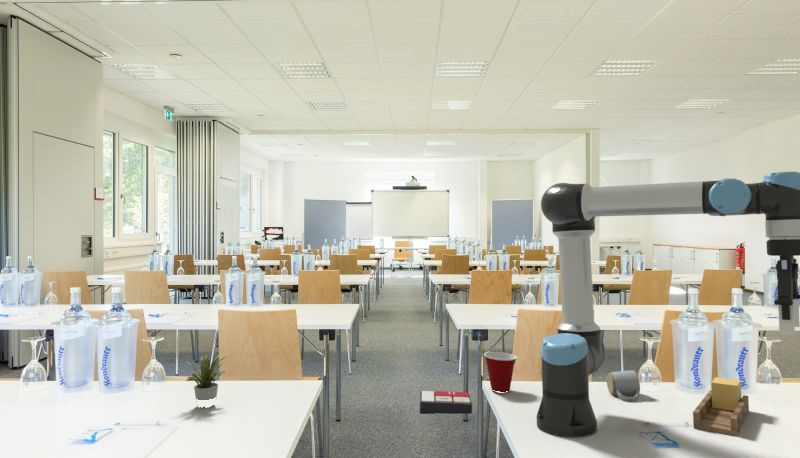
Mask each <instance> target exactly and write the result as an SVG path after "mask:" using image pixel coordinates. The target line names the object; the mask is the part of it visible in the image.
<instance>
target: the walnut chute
mask: <svg viewBox="0 0 800 458" xmlns="http://www.w3.org/2000/svg"><path fill="white" fill-rule="evenodd" d="M749 403H750V401H749V395H742V396H741V400H740V402H739V404H738V405H737V407H736V409H735V411H730V410H724V409H717V408H712V394H711V390H709V391H708V392H707V393H706V395H705V396H704V397H703V398H702V400H701V401H700V402H699V404H698V405H697V406H696V407H695V409H694V410H693V411H692V417H693V418H692V419H693V420H692V421H693V422H692V423H693V429H695V430H701V431H706V432H712V433H716V434H723V435H726V436H727V435H728V436H734V437H738V435H739V433H740V431H741V428H742V426H743V425H744V423H745V420H746V418H747V416H748V414H749V412H750V405H749Z"/></svg>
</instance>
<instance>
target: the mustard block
mask: <svg viewBox="0 0 800 458" xmlns="http://www.w3.org/2000/svg"><path fill="white" fill-rule="evenodd" d="M741 381H742V380H741V379H740V380H739V379H734V378H733V379H732V378H724V377H717V376H716V377H714V378H713V379H712V381H711V382H710V387H711V388H710V389H711V390H710V391H711V394H712V408H717V409H724V410H730V411H735V409H736V407H737V405H738V404H739V402H740V400H741V398H742V383H741Z"/></svg>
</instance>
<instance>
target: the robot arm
mask: <svg viewBox="0 0 800 458" xmlns="http://www.w3.org/2000/svg"><path fill="white" fill-rule="evenodd" d="M540 200H541V201H540V209H541V211H542V215H544V217H545V219H546V220H548V221H549V222H550V223H552V224H551V227H552V234H553V235H554V236H555V237H557V239H558V254H559V255H558V256H559V275H560V293H561V294H560V296H561V297H560V298H561V299H560V300H561V314H562V315H561V318H562V320H561V323H559V325H558V326H556V327H557V329H556V330H557V333H556V334H551V335H548V336H545V337H544V338H543V339H542V341H541V348H540V356H541V380H542V381H541V382H542V383H541V385H542V386H541V387H542V397H541V400H540V404H539V406H538V407H539V408H538V410H537V414H536V426H537V428H538V429H539V430H541V431H542V432H545V433H547V434H550V435H554V436H559V437H567V438H568V437H571V438H580V437H588V436H591V435H594V434H595V433H596V432H597V431H598V420H597V417H596V414H595V412H594V408H593V407H592V403H591V400H590V395H589V394H590V387H589V385H590V384H589V383H590V382H589V376H590V375H592V374H593V373H596V372H597V371H598V370H600V368H601V367H602V365H603V363H604V361H605V358H606V355H607V354H606V353H607V352H606V351H607V349H606V346H605V343H604V342H603V339H602V338H601V337H602V335H601V327H600V326H599V325H598V324H597V323H596V322H595V314H594V313H595V310H594V294H593V292H594V291H593V274H592V273H593V272H592V255H591V239H590V238H591V236H592V235H593V234H594V233H595V232H596V222H595V219H596V217H620V216H621V217H623V216H624V217H625V216H627V217H628V216H629V217H630V216H631V217H632V216H666V215H667V216H668V215H670V216H671V215H672V216H673V215H709V216H711V217H718V216H719V217H726V216H743V215H744V216H745V215H746V216H747V215H765V221H764V222H765V237H766V238H768V240H766V241H765V243H766V255H768V256H773V257H777V256H778V257H779V259H777V261H776V264H775V270H776V278H777V297H776V300H773V301H774V306H775V305H776V306H777V305H778V306H777V308H778V328H779V330H778V331H779V335H785V336H787V335H788V336H795V335H796V330H795V329H796V328H800V307H799V306H800V304H799V302H800V301H799V300H800V292H799V285H798V279H799V263H797V259H796V258H795V256H797V257H798V256H800V172H798V171H779V172H770V173H767V174H765V175H763V180H762V182H761V181H760V182H756V183H746V182H744V181H742V180H741V179H737V178H729V177H728V178H723V179H719V180H707V181H706V180H705V181H704V180H703V181H685V182H684V181H683V182H666V183H650V184H645V183H644V184H627V185H610V186H608V185H607V186H592V185H590V183H567V182H560V183H555V184H553V185H551V186H549V187H548V188H547V189H546V190H545V191H544V193H543V194H542V196H541V199H540Z"/></svg>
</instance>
